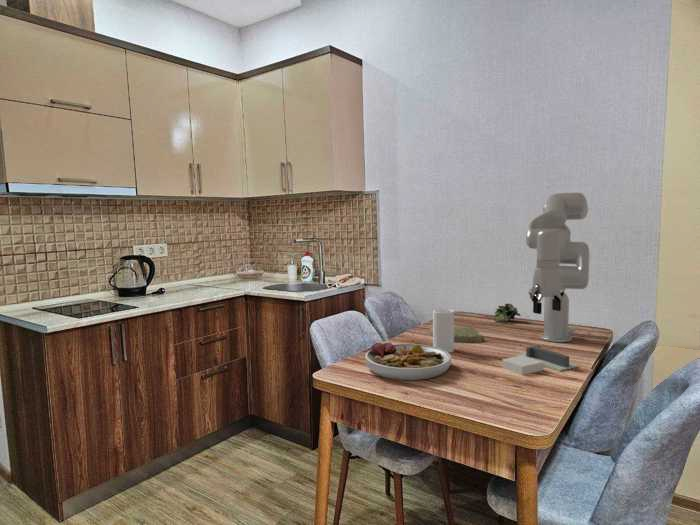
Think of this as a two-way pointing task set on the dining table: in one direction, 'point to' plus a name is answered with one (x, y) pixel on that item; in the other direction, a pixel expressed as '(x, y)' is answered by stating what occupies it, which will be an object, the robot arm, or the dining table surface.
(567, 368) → the mat
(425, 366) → the bowl
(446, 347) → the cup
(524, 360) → the tile
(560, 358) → the grey t-shaped block
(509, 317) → the green leafy plant
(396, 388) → the dining table surface
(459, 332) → the decorative tile
